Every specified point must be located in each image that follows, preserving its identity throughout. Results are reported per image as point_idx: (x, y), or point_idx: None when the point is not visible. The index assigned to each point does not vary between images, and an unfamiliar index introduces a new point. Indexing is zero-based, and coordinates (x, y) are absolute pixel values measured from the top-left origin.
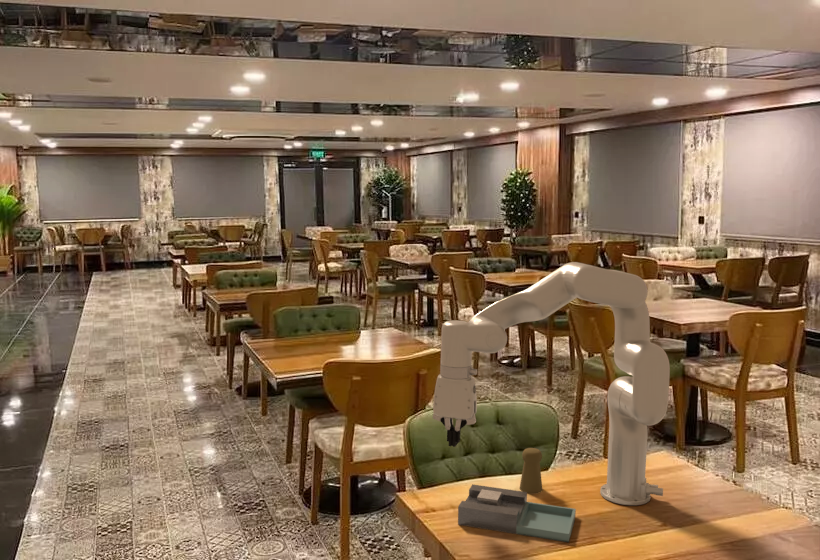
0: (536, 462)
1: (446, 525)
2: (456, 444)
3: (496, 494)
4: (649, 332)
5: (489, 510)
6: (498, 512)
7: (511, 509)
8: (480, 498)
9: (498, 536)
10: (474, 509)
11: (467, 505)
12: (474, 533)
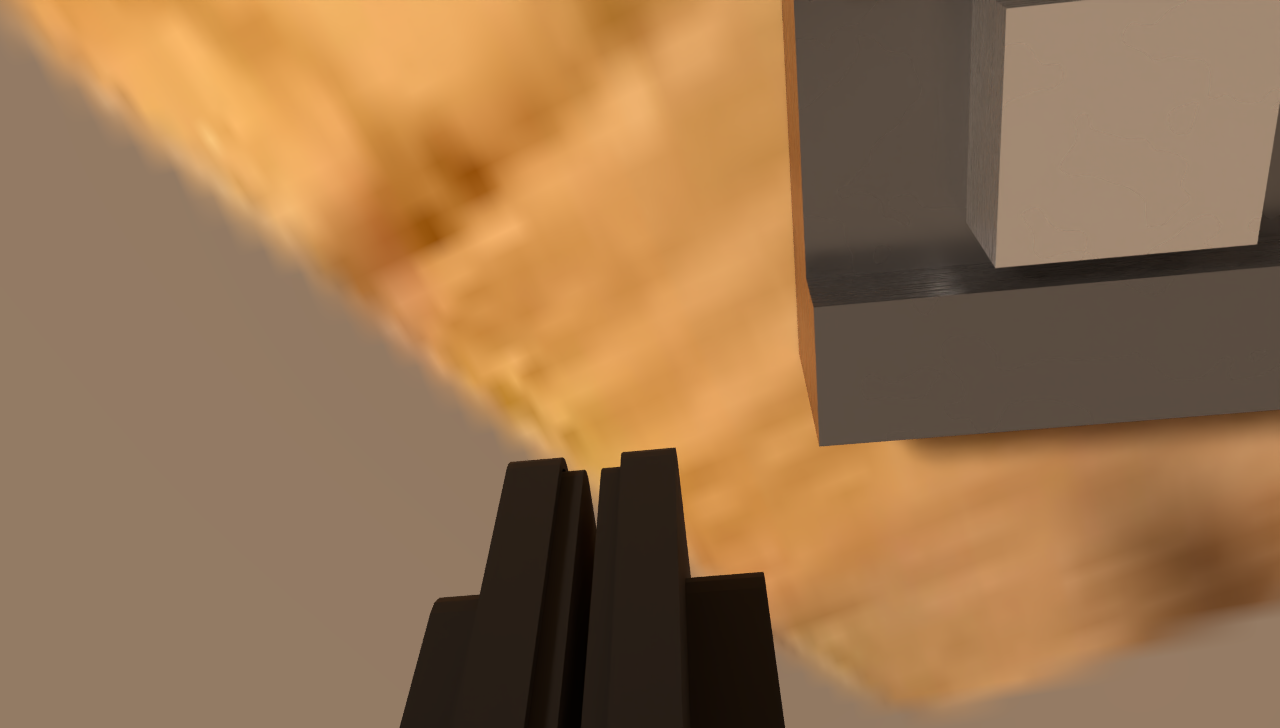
0: None
1: (709, 402)
2: (689, 574)
3: (1229, 87)
4: None
5: (1159, 404)
6: (1261, 408)
7: None
8: (1034, 258)
9: None
10: (994, 427)
11: (905, 390)
12: (980, 434)
